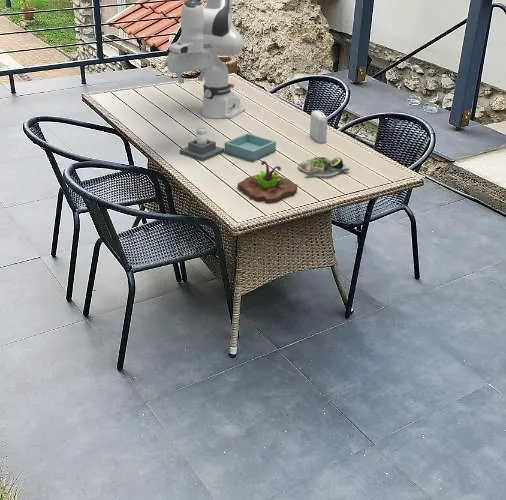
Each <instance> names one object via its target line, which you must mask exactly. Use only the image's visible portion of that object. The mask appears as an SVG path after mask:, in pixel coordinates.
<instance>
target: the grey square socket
mask: <svg viewBox="0 0 506 500" xmlns="http://www.w3.org/2000/svg"><path fill="white" fill-rule="evenodd" d="M216 144H217V142H216V141H213V140H211V139H207V144H206V145H203V146H201V145H198V144H197V138H196V139H194V140H192V141H191V140H190V141H189V142H187V146H185V147H183V148H180V149H179V154H180V155H184V156H187V157H189V158H192V159H195V160H198V161H201V162H205V161H207V160H209V159H212V158H214V157H216V156H219V155H221V154H223V153H224V154H225V148H223V147H220V146H217V145H216Z"/></svg>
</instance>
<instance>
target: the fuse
mask: <svg viewBox="0 0 506 500" xmlns="http://www.w3.org/2000/svg"><path fill="white" fill-rule="evenodd" d="M207 131H208V130H207V128H205V127H198V128H197V129H196V139H197V144H198V145H201V146H203V145H206V144H207V138H208V137H207V135H208V132H207Z"/></svg>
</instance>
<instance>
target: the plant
mask: <svg viewBox="0 0 506 500" xmlns="http://www.w3.org/2000/svg"><path fill="white" fill-rule="evenodd" d="M260 164H261V165H262V166H264V165H265V169H266V170H265V171H263V170H261V171H260V173H257V174H255V175H251V176H248V177H245V179H243V180H242V181H239V182H238V183H237V190H238V191H239V192H241V193H242V194H244V195H245V196H247V197H249V200H253V201H255V202H260V203H261V202H262V203H263V202H264V203H265V204H270V205H271V204H277V203H279V202H281V201H282V200H285V199H287V198H289V197H294V196H295V195H296V194H297V190H298V184H297V183H296V184H295V183H294V182H293V181H292V180H291V179H289V178H285V177H283V176H281V175H279V172H278V171H282V167H281V166H280V165H279V166H278V165H277V166H274V167H273V168H272V169H271V170H270V167H269V165H268V163H267V162H266V161H265V160H262V161H261V162H260ZM276 169H277V170H278V171H277V172H276V171H275V170H276Z"/></svg>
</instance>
